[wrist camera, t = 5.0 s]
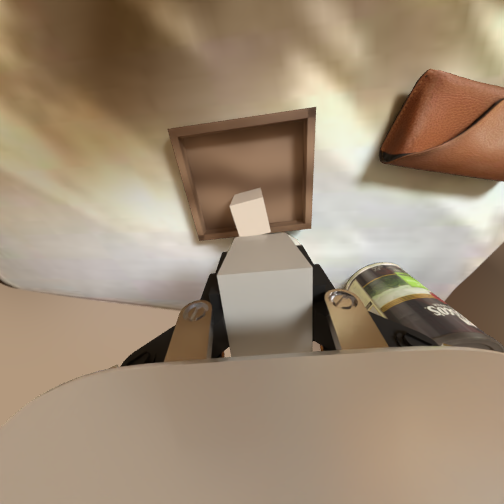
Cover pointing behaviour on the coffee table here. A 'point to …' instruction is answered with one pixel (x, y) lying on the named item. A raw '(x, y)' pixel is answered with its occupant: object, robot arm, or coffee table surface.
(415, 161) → the sunglasses case
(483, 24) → the coffee table surface
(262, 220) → the beige brick
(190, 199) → the walnut tray
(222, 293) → the light grey block
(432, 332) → the coffee can
